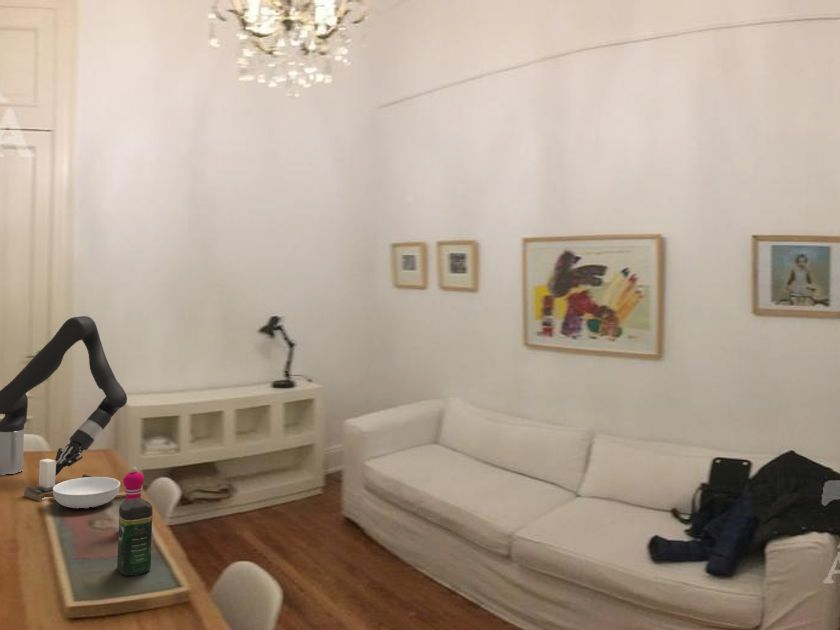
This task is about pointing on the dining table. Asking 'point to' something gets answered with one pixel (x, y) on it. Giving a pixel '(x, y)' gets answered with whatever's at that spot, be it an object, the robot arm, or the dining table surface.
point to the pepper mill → (133, 484)
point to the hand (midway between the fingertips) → (53, 473)
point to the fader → (47, 474)
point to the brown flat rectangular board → (41, 492)
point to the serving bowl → (86, 491)
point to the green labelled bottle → (134, 536)
